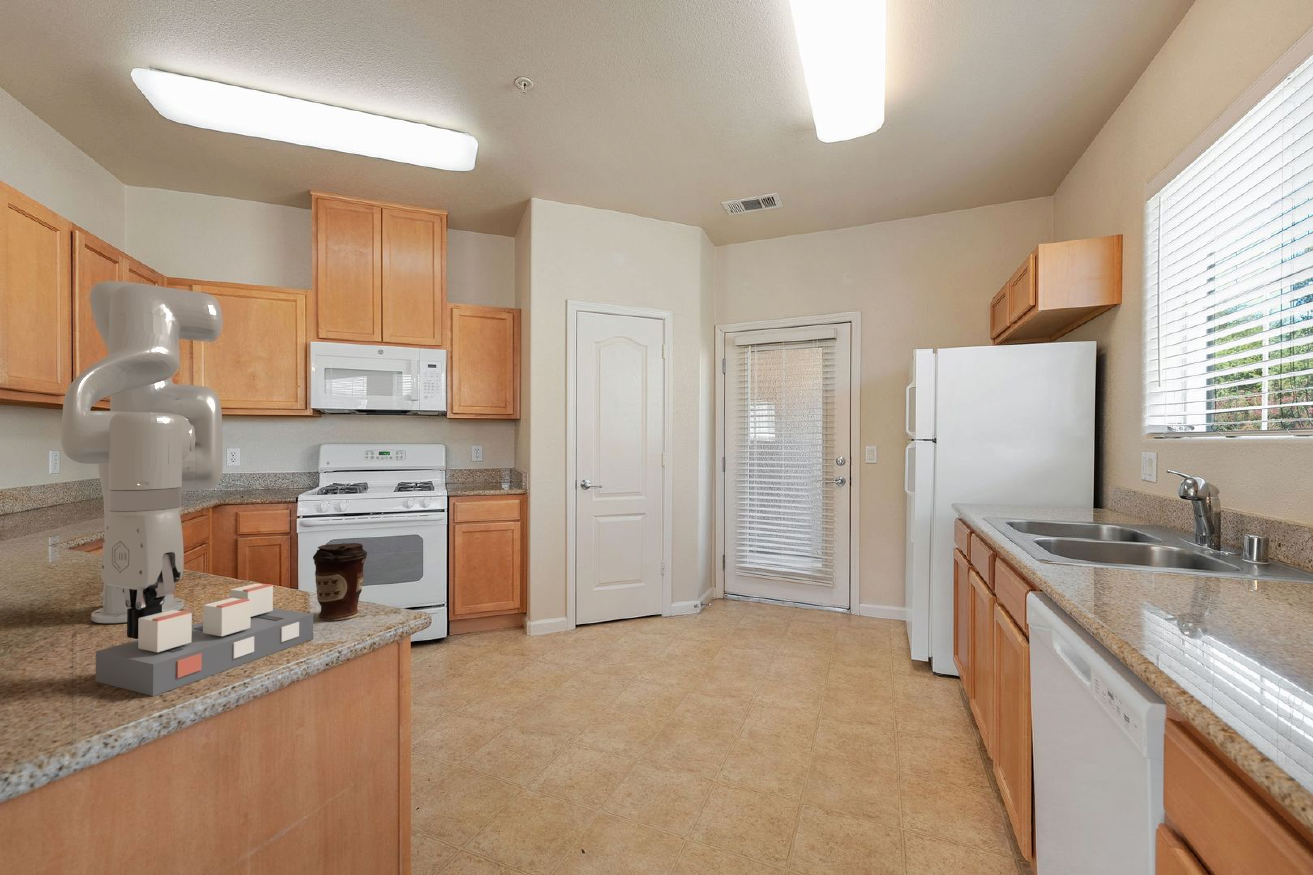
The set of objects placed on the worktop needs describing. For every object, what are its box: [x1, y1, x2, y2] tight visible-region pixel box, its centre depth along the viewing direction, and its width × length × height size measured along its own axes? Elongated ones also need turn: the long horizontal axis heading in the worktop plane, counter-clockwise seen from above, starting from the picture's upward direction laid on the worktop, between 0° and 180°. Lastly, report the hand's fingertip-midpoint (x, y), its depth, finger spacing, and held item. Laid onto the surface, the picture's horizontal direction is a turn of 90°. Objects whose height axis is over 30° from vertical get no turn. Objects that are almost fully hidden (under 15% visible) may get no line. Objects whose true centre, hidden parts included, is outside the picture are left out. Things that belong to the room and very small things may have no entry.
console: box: [95, 607, 314, 697], centre depth 84 cm, size 12×22×4 cm, turn 160°
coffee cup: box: [312, 542, 368, 621], centre depth 103 cm, size 9×8×13 cm
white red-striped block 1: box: [202, 597, 251, 636], centre depth 83 cm, size 4×4×4 cm
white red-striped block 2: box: [229, 583, 274, 617], centre depth 91 cm, size 4×4×4 cm
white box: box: [137, 610, 193, 652], centre depth 77 cm, size 4×4×4 cm
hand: (144, 634), depth 78 cm, fingers closed
